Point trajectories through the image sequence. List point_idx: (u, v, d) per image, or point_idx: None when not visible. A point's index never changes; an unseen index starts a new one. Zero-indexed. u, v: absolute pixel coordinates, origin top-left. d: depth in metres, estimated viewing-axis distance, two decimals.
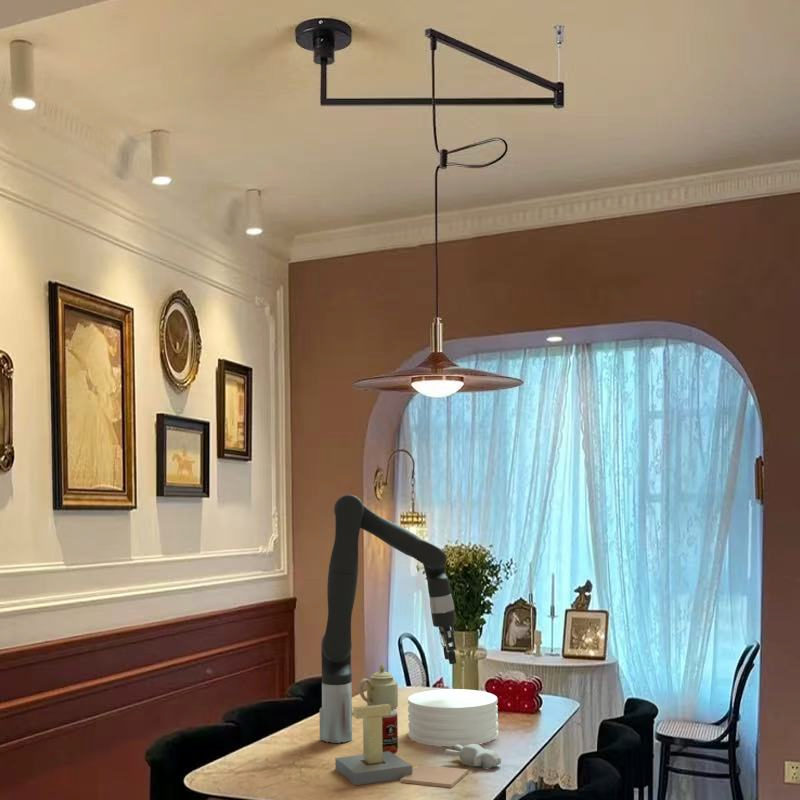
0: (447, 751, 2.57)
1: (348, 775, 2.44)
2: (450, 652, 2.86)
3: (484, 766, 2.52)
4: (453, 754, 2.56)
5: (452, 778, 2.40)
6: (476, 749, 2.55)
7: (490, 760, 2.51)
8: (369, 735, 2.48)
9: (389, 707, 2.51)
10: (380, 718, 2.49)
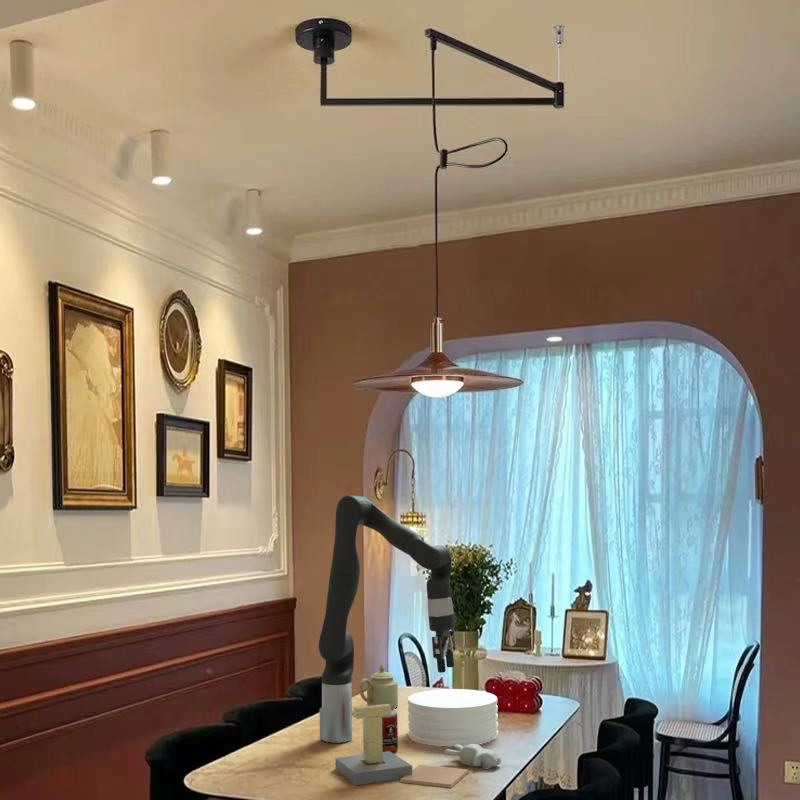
0: (447, 751, 2.57)
1: (348, 775, 2.44)
2: (438, 659, 2.67)
3: (484, 766, 2.52)
4: (453, 754, 2.56)
5: (452, 778, 2.40)
6: (476, 749, 2.55)
7: (490, 760, 2.51)
8: (369, 735, 2.48)
9: (389, 707, 2.51)
10: (380, 718, 2.49)
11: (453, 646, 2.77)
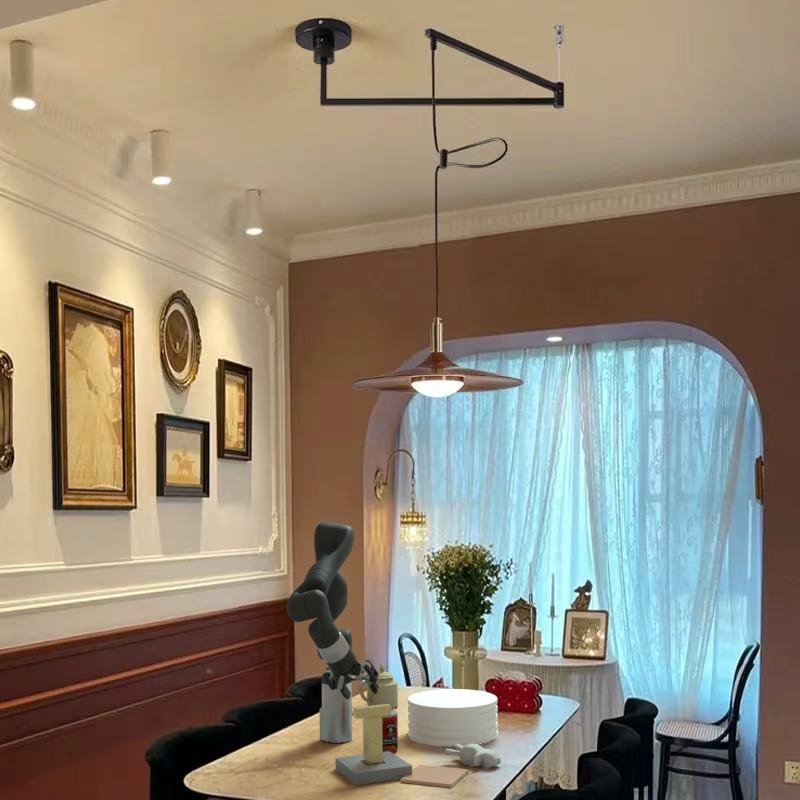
0: (447, 751, 2.57)
1: (348, 775, 2.44)
2: None
3: (484, 766, 2.52)
4: (453, 754, 2.56)
5: (452, 778, 2.40)
6: (476, 749, 2.55)
7: (490, 760, 2.51)
8: (369, 735, 2.48)
9: (389, 707, 2.51)
10: (380, 718, 2.49)
11: (371, 678, 2.45)
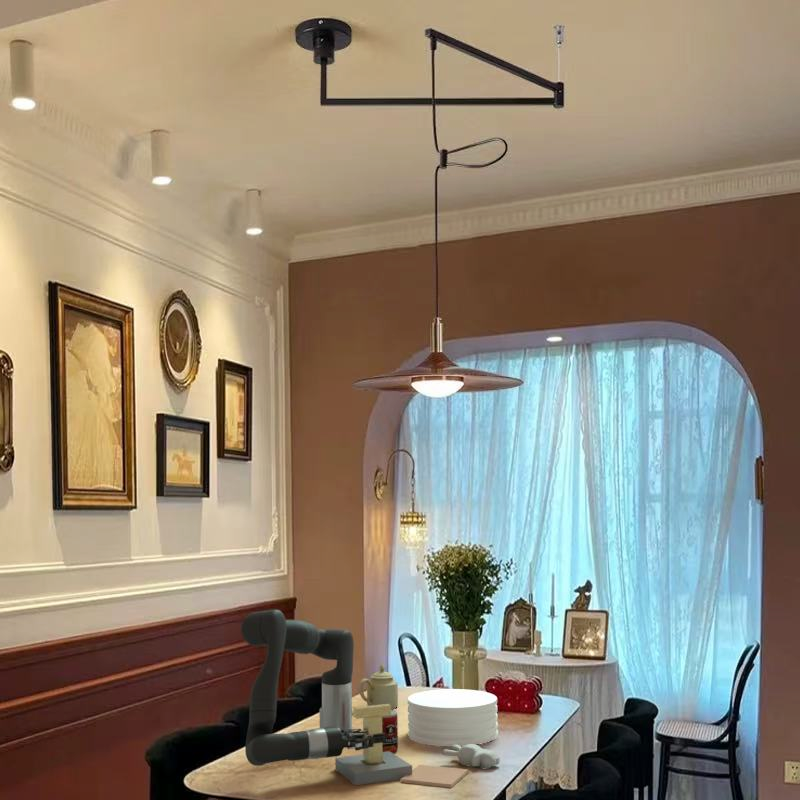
0: (445, 751, 2.57)
1: (348, 775, 2.44)
2: None
3: (483, 766, 2.52)
4: (451, 754, 2.56)
5: (452, 778, 2.40)
6: (474, 749, 2.55)
7: (489, 760, 2.51)
8: None
9: (389, 707, 2.51)
10: (380, 718, 2.49)
11: (368, 745, 2.45)
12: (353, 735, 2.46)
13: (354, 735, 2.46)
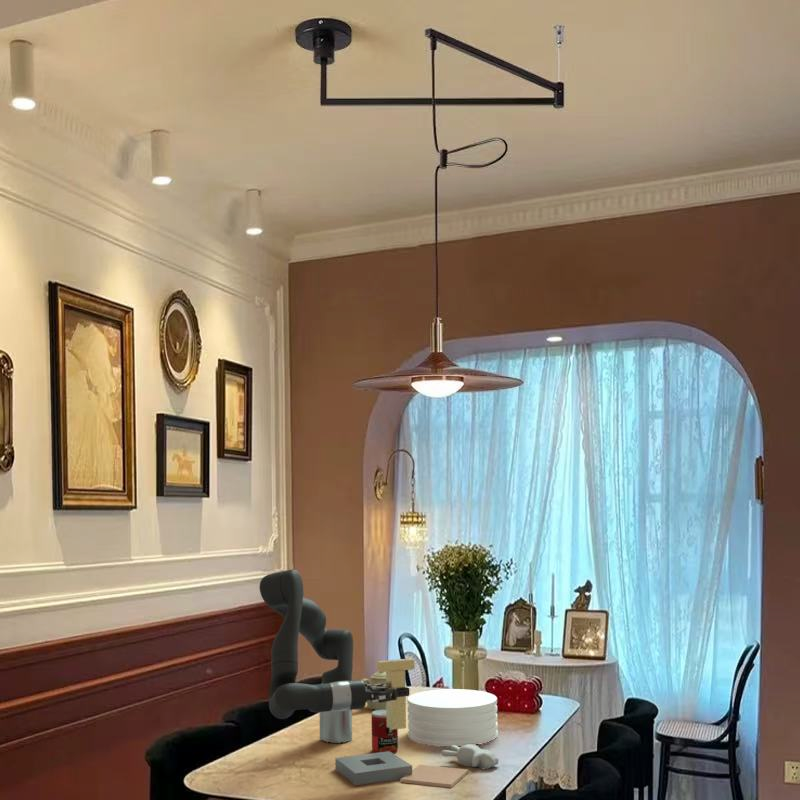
0: (444, 752, 2.56)
1: (348, 775, 2.44)
2: None
3: (482, 766, 2.52)
4: (450, 755, 2.55)
5: (452, 778, 2.40)
6: (473, 749, 2.54)
7: (488, 760, 2.51)
8: None
9: (412, 661, 2.50)
10: (403, 672, 2.48)
11: (391, 698, 2.44)
12: (376, 688, 2.45)
13: (377, 688, 2.45)
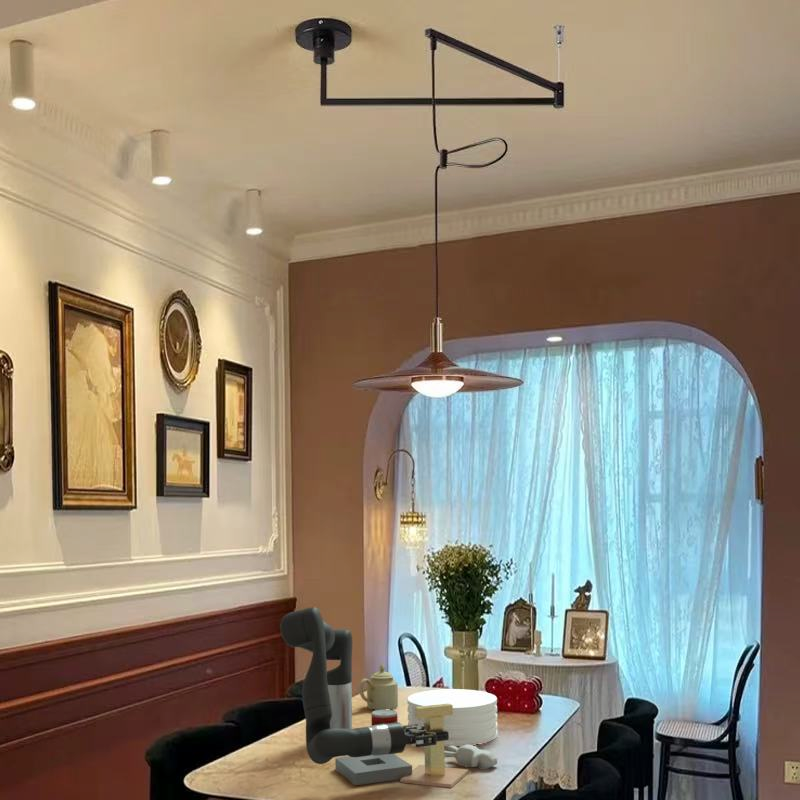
0: None
1: (348, 775, 2.44)
2: None
3: (481, 767, 2.51)
4: (449, 755, 2.55)
5: (452, 778, 2.40)
6: (472, 750, 2.54)
7: (487, 760, 2.51)
8: None
9: (450, 707, 2.47)
10: (442, 718, 2.45)
11: None
12: (415, 732, 2.41)
13: (416, 732, 2.41)
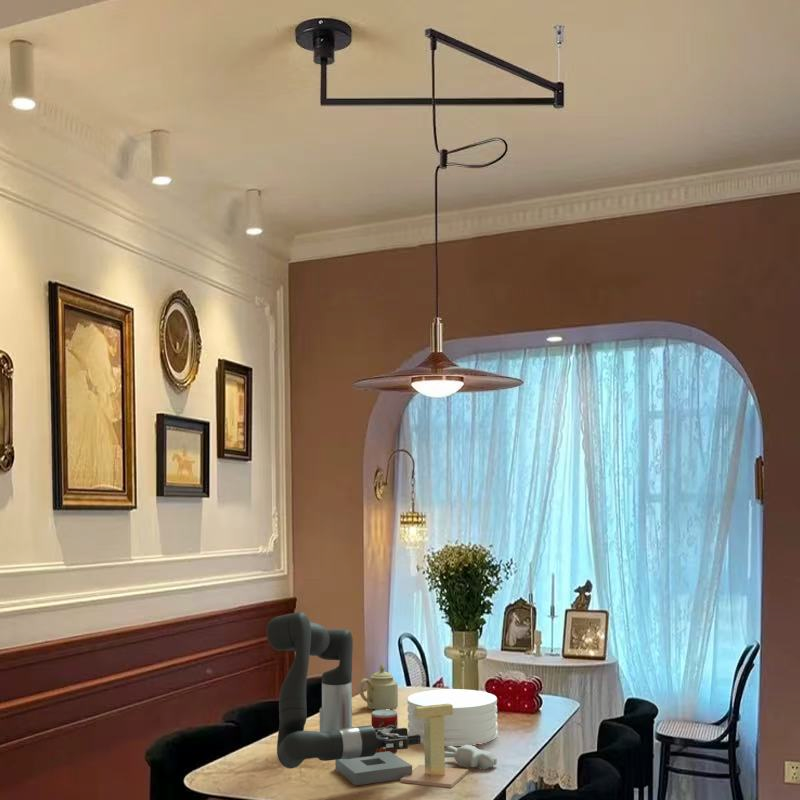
0: None
1: (348, 775, 2.44)
2: None
3: (480, 767, 2.51)
4: (448, 756, 2.55)
5: (452, 778, 2.40)
6: (472, 750, 2.54)
7: (487, 760, 2.51)
8: (431, 735, 2.43)
9: (450, 707, 2.47)
10: (442, 718, 2.45)
11: None
12: (386, 735, 2.38)
13: (387, 735, 2.38)
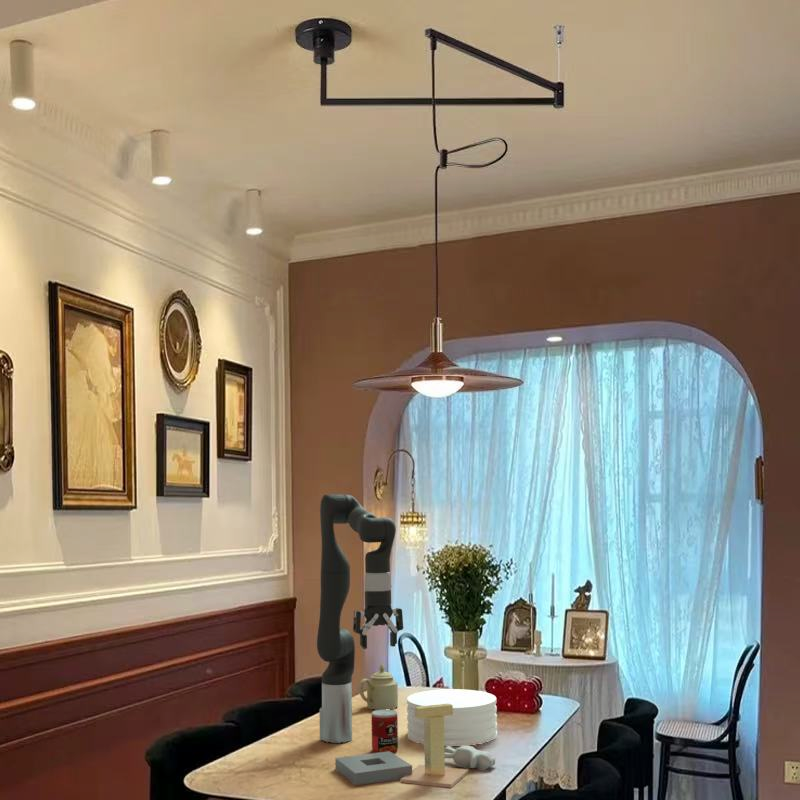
0: None
1: (348, 775, 2.44)
2: (360, 635, 2.58)
3: (480, 767, 2.51)
4: (447, 757, 2.54)
5: (452, 778, 2.40)
6: (470, 751, 2.53)
7: (486, 761, 2.50)
8: (431, 735, 2.43)
9: (450, 707, 2.47)
10: (442, 718, 2.45)
11: (399, 625, 2.61)
12: None
13: None
